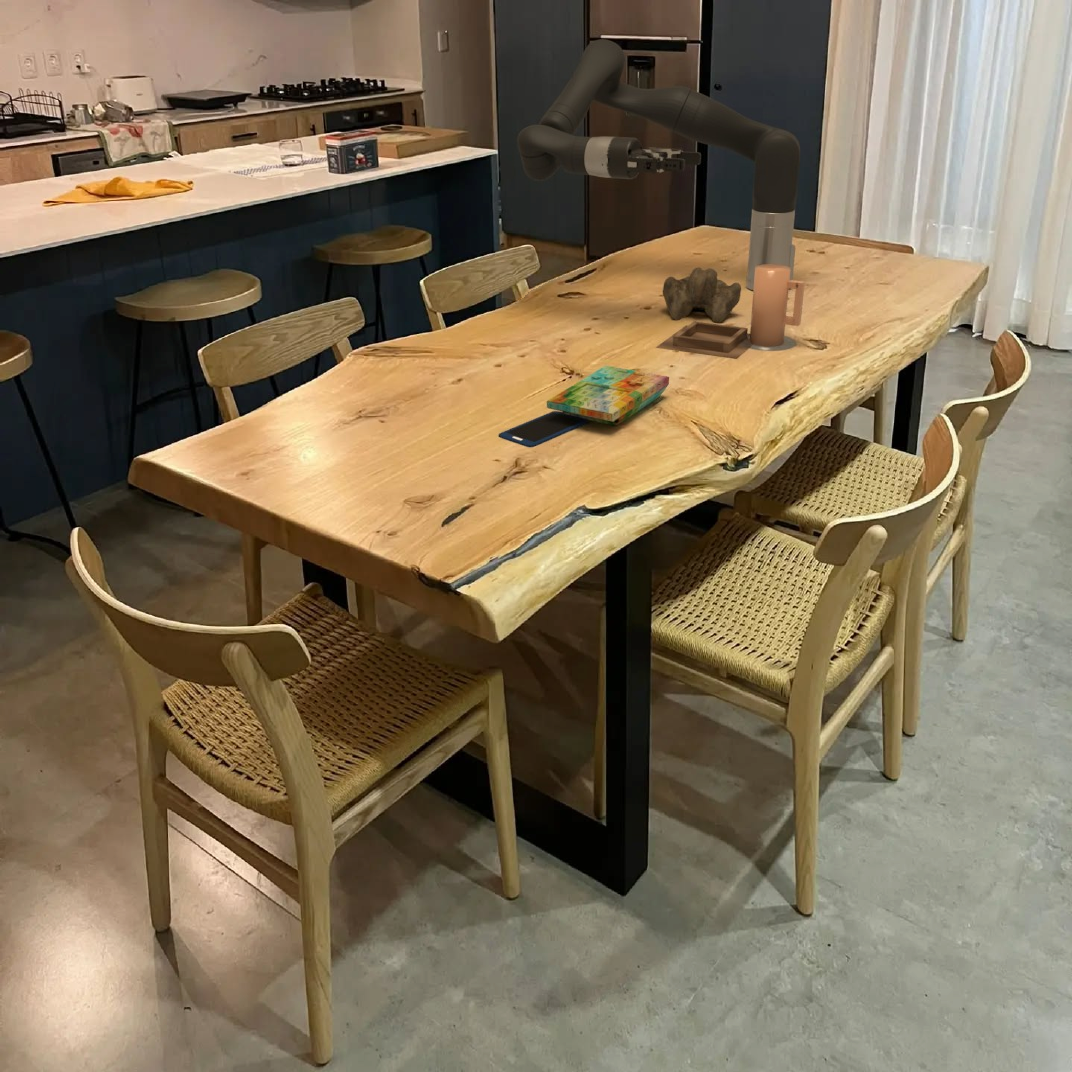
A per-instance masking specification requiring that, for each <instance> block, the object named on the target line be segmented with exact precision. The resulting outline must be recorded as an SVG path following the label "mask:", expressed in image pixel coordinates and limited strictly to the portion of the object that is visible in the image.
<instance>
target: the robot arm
mask: <svg viewBox="0 0 1072 1072" xmlns="http://www.w3.org/2000/svg"><path fill="white" fill-rule="evenodd" d="M625 63H626V56H625V53H624V51H623V48H621V46H620V45H619V44H618V43H616V42H614V41H612V40H611V39H606V38H605V39H603V38H602V39H595V40H593V41H591V42H590V43H589V44H588V45H587V46H586V48H585V50H584V51H583V53H582V56H581V59H580V61H579V64H578V66H577V68H576V70H574V73H573V74H572V76H571V78H570V80H568V82H567V84H566V86H565V87H564V88H563V90H562V92H561V93H560V94H559V96H558V97H556V100H555V101H554V102H553V103H552V105H551V106H550V107H549V108H548V110H547V111H546V113H545V114H544V115H543V116H542V118H541V119H540V121H539V123H538V124H532V125H529V126H527V127H525V128H522V129H521V131H520V132H519V133H518V135H517V139H516V141H517V142H516V143H517V147H518V148H517V149H518V152H519V155H520V160H521V163H522V168H523V171H524V173H525V175H526V176H527V178H529V179H530V180H532V181H535V182H543V181H546V180H548V179H549V178H551V177H553V176H554V175H555V173H557V172H558V171H559V169H560V168H562V169H563V170H564V171H565V172H566V173H568V174H570V175H571V174H572V175H585V176H594V177H599V178H608V179H609V178H610V179H624V180H633V179H636V178H637V176H638V175H639V173H645V174H646V173H647V174H648V173H649V174H654V175H655V174H657V173H662V172H676V173H677V172H678V173H679V172H680V173H682V172H684V171H685V169H686V165H689V166H690V165H691V166H699V165H701V163H702V154H701V152H698V151H697V152H696V151H684V149H683V148H682V147H681V148H669V147H655V146H653V147H647V148H642V143H641V142H640V140H639V139H638V138H636V137H629V136H628V137H625V136H607V135H606V136H605V135H603V136H580V135H579V136H577V135H574V134H575V133H576V132H577V131H578V130H579V128H580V126H581V125H582V123H583V121H584V119H585V117H586V116H587V113H588V111H589V109H590V108H591V105H592V104H593V102H596V103H599V104H602V105H605V106H608V107H611V108H614V109H617V110H620V111H622V112H626V113H629V114H631V115H634V116H636V117H639V118H642V119H644V120H647V121H648V122H651V123H653V124H656V125H658V126H661V127H663V128H665V129H666V130H669V131H671V132H673V133H675V134H677V135H680V136H681V137H684V138H686V139H688V140H690V141H694V142H696V143H701V144H704V145H709V146H712V147H715V148H716V147H717V148H721V149H726V150H729V151H732V152H734V153H735V154H736V153H737V154H739V155H740V156H742V157H744V158H746V159H747V160H750V161H752V162H753V163H754V172H753V174H754V175H753V187H752V188H753V189H752V205H751V207H752V208H751V221H750V234H749V244H748V245H749V248H748V260H747V261H748V262H747V274H746V288H747V289H749V290H750V291H753V290H754V277H755V267H756V266H759V265H765V264H777V265H784V266H787V267H789V268H790V280H794V279H793V278H794V277H793V276H794V267H795V256H796V245H795V244H793V237H794V226H795V225H794V224H795V215H796V213H795V212H796V205H797V203H796V202H797V197H798V185H799V175H800V165H801V164H800V163H801V146H800V142H799V140H798V139H797V137H796V136H795V135H794V134H793V133H791V132H790V131H788V130H785V129H782V128H778V127H775V126H771V125H769V124H766V123H762V122H759V121H757V120H754V119H751V118H748V117H746V116H744V115H742V114H740V112H739V113H738V112H737V111H735V110H734V109H732V108H730V107H729V106H726V105H725V104H723V103H722V102H720V101H718V100H715V99H714V98H711V97H709V96H707V95H705V94H703V93H700V92H699V91H696V90H694V89H692V88H689V87H688V86H683V85H672V86H670V85H669V86H663V87H655V88H640V87H636V86H633V85H630V84H627V83H625V82H624V81H623V82H622V81H621V78H622V76H623V73H624V68H625ZM672 155H675V156H676V157H675V158H674V157H672ZM560 166H561V167H560Z"/></svg>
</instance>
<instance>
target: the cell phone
mask: <svg viewBox="0 0 1072 1072" xmlns="http://www.w3.org/2000/svg"><path fill="white" fill-rule="evenodd" d="M588 423H589V420H586V419H582V418H579V417H576V416H572V415H568V414H564V413H563V412H562V411H558V410H553V411H550V412H548V413H545V414H543V415H541V416H539V417H538V416H537V417H536V418H533V419H531V420H529V421H526V422H524V423H522V424H517V426H513V427H512V428H508V429H506V430H504V431H502V432H500V433H498V435H497V436H498V437H499V438H501V439H503V440H506V441H509V442H512V443H514V444H518V445H521V446H522V447H523V446H524V447H527V448H534V447H537V446H539V445H542V444H545V443H546V442H549V441H551V440H552V439H555V438H558V437H560V436H563V435H564V434H567V433H570V432H571V431H574V430H576V429H578V428H580V427H583V426H585V425H587V424H588Z"/></svg>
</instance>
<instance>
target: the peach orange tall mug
mask: <svg viewBox="0 0 1072 1072" xmlns="http://www.w3.org/2000/svg"><path fill="white" fill-rule="evenodd" d="M805 283H806V281H804V280H795V279H792V280H790V268H789V267H787V266H784V265H777V264H765V265H759V266H756V267H755V277H754V290H752V292H753V293H752V307H751V318H750V331H749V332H750V333H749V334H750V343H751V344H753V345H757V346H762V347H775V346H780V345H782V344H783V343H784V336H785V334H786V332H785V331H786V330H785V329H786V326H795V327H799V326H800V325H801V324H802V323H801V321H802V314H803V305H804V304H803V303H804V295H805V285H806V284H805ZM789 289H791V290H795V291H794V292H795V293H794V302H793V311H792V312H793V313H792V316H789V315H787V310H788V300H789V291H790V290H789Z"/></svg>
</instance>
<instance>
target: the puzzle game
mask: <svg viewBox="0 0 1072 1072" xmlns="http://www.w3.org/2000/svg"><path fill="white" fill-rule="evenodd" d="M669 385H670V376H668V375H667V376H666V375H661V374H656V373H650V372H643V371H638V370H632V369H626V368H623V367H622V368H621V367H615V366H611V365H604V366H603V367H601V368H599V369H598V370H596V371H594V372H592V373H591V374H590V375H588V376H586V377H585V378H583V379H581V380H580V381H578V382H576V383H574V384H573V385H571V386H570V387H567V388H566V389H564V390H563V391H561V392H559V393H557V394H555V396H553V397H551V398H549V399H548V400H546V408H547V409H550V410H553V411H559V412H563V413H564V414H568V415H572V416H576V417H579V418H582V419H585V420H587V421H591V422H596V423H601V424H605V425H611V426H615V427H617V426H619V425H620V424H622V423H624V421H626V420H627V419H628V418H630V417H632V416H634V415H635V414H637V413H638V412H640V410H642V409H644V408H646V406H648V405H650V404H651V403H652V402H654V401H655V400H657V399H658V398H660V396H661V395H662V394H663V393H664V392H665V391H666V389H667V388H668V386H669Z"/></svg>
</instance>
